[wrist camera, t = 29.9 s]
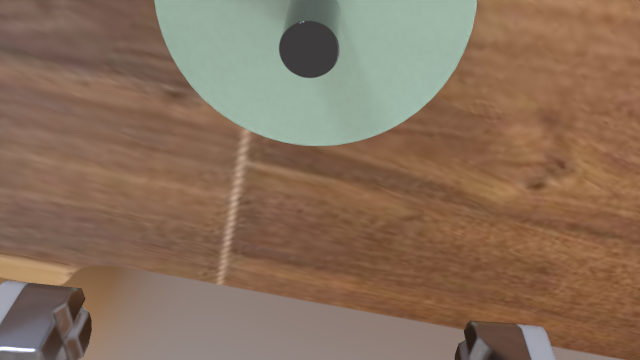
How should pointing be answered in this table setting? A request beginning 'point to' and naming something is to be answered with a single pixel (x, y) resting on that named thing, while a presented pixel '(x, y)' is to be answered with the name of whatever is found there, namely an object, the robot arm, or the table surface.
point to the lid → (316, 61)
